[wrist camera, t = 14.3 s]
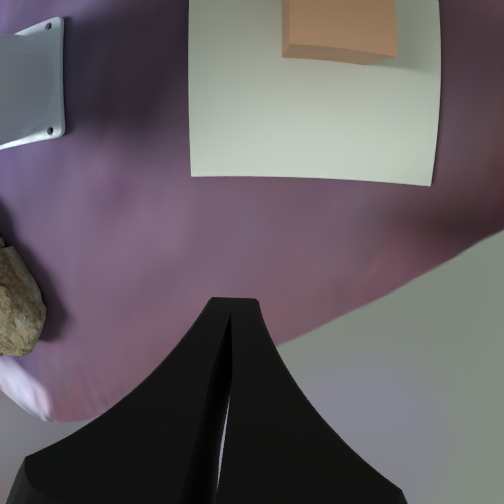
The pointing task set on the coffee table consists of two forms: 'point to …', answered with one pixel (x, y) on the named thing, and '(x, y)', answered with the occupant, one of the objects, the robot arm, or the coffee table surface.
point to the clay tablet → (18, 305)
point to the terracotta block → (339, 30)
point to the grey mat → (310, 99)
